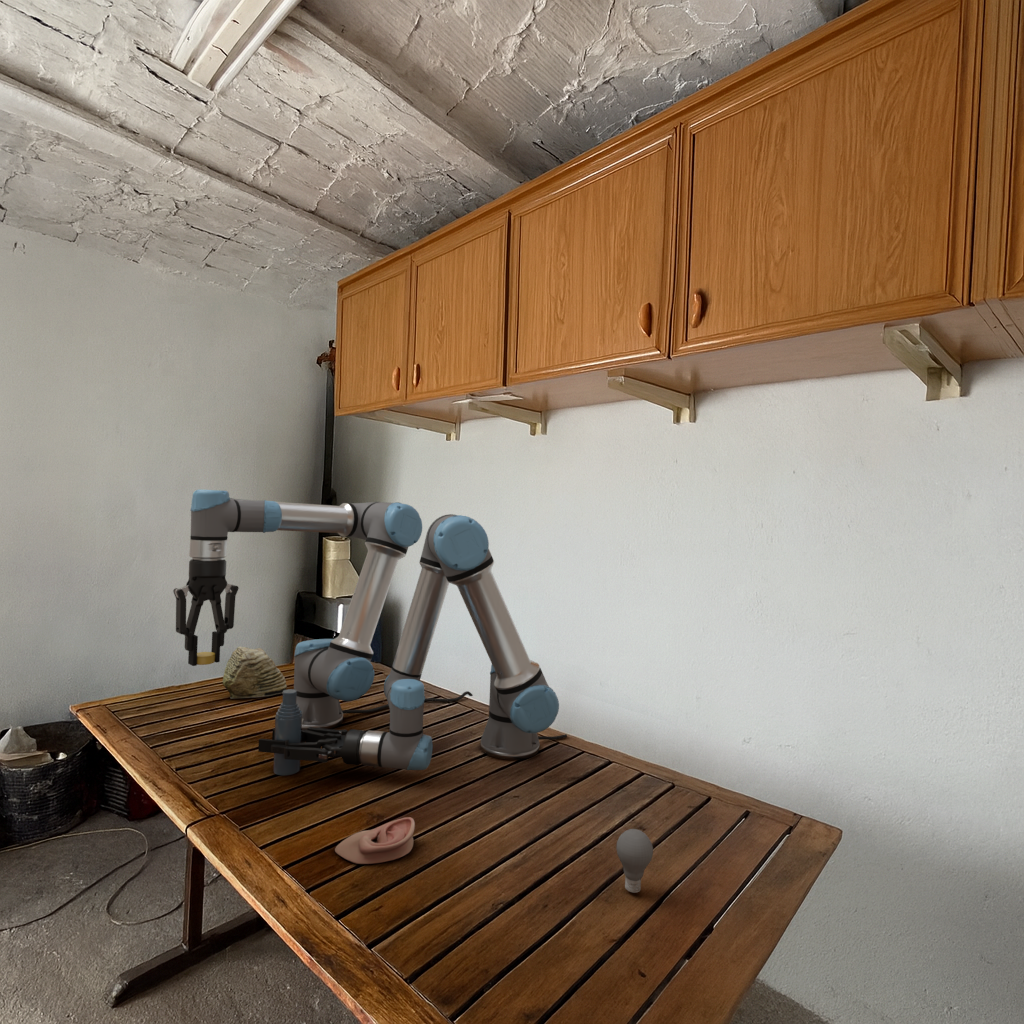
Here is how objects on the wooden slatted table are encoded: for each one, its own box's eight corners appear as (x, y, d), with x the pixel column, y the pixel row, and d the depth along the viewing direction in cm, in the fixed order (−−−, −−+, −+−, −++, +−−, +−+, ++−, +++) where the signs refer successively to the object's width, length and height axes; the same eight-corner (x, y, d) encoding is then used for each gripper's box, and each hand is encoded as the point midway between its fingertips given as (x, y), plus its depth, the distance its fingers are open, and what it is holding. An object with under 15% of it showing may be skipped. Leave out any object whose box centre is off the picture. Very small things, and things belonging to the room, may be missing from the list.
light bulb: (610, 879, 108) (613, 822, 108) (644, 879, 109) (647, 822, 109) (619, 902, 102) (622, 840, 102) (655, 901, 103) (658, 840, 103)
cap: (194, 665, 139) (194, 657, 139) (192, 661, 142) (192, 652, 142) (216, 663, 141) (216, 655, 141) (213, 659, 145) (213, 651, 145)
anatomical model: (327, 836, 111) (356, 806, 122) (326, 858, 111) (355, 826, 122) (398, 848, 108) (421, 815, 119) (397, 871, 108) (420, 836, 119)
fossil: (218, 695, 195) (220, 647, 195) (278, 685, 208) (279, 640, 207) (228, 703, 189) (230, 653, 188) (289, 692, 201) (290, 645, 201)
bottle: (267, 770, 145) (270, 691, 145) (289, 762, 150) (292, 685, 150) (284, 777, 142) (287, 696, 142) (305, 769, 147) (308, 690, 146)
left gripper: (173, 561, 132) (168, 672, 133) (253, 558, 145) (249, 660, 146) (159, 558, 137) (155, 665, 138) (238, 555, 150) (234, 653, 151)
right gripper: (348, 782, 135) (244, 773, 137) (375, 748, 154) (284, 740, 156) (349, 747, 135) (245, 738, 137) (377, 717, 153) (285, 710, 156)
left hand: (203, 662), depth 142 cm, fingers closed on cap, 4 cm apart
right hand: (266, 739), depth 146 cm, fingers closed on bottle, 6 cm apart
